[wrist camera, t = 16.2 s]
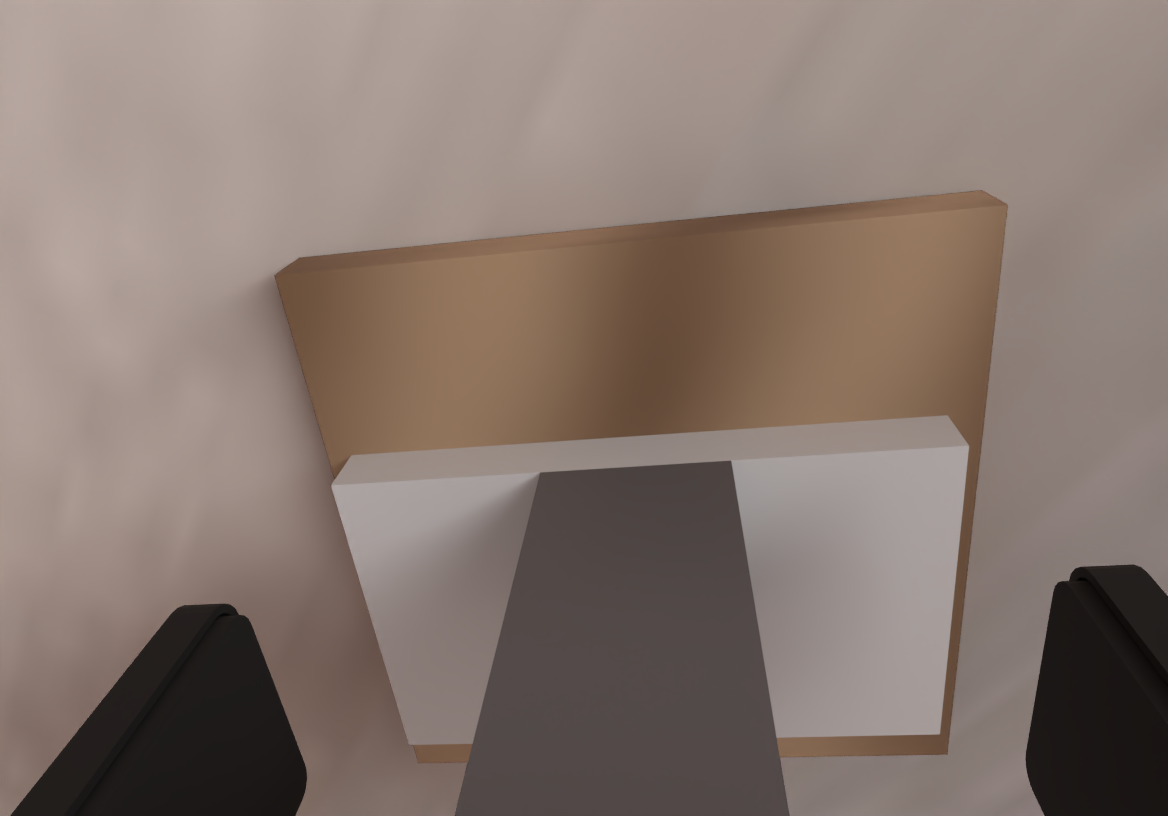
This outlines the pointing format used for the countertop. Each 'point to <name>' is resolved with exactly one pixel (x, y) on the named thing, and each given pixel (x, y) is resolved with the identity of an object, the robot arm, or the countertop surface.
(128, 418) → the countertop surface
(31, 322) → the countertop surface
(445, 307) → the board
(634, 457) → the white base with post
